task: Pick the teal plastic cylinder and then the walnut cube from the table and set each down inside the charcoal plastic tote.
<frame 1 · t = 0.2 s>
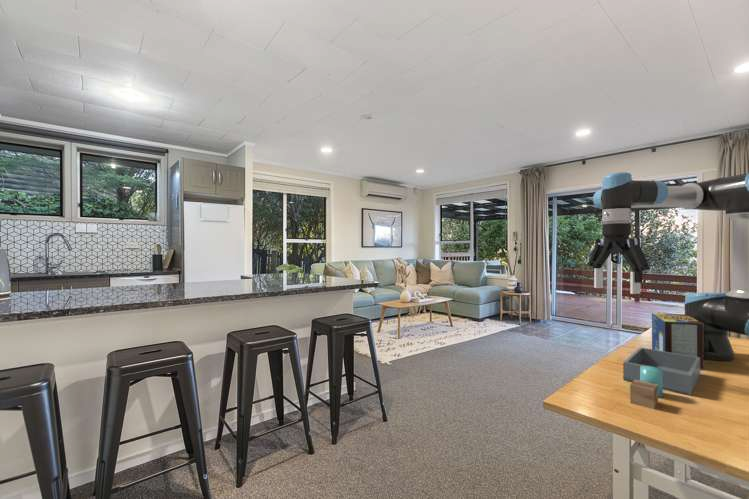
hand: (615, 290, 111), 27 cm above the table, fingers open, 13 cm apart
tote: (662, 377, 110), on the table
walnut cube: (644, 403, 93), on the table
teal cylinder: (651, 393, 99), on the table
protein box: (675, 361, 125), on the table
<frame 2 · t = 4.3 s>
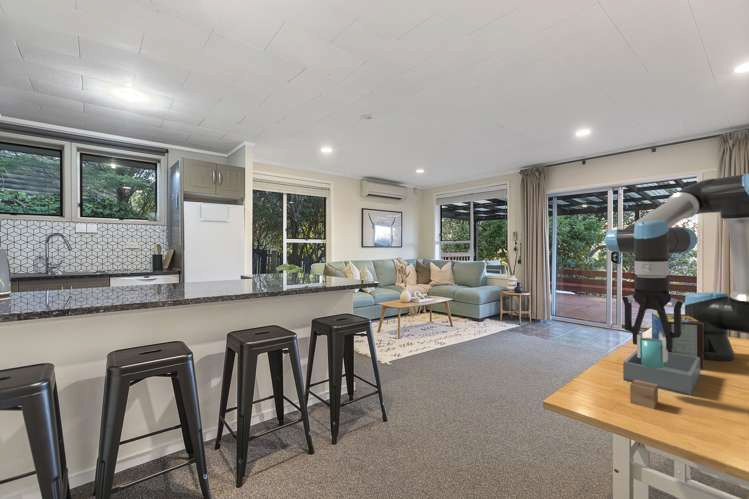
hand: (652, 358, 99), 10 cm above the table, fingers closed on teal cylinder, 5 cm apart
teal cylinder: (652, 365, 99), point 8 cm above the table, touching gripper
everything else where it was.
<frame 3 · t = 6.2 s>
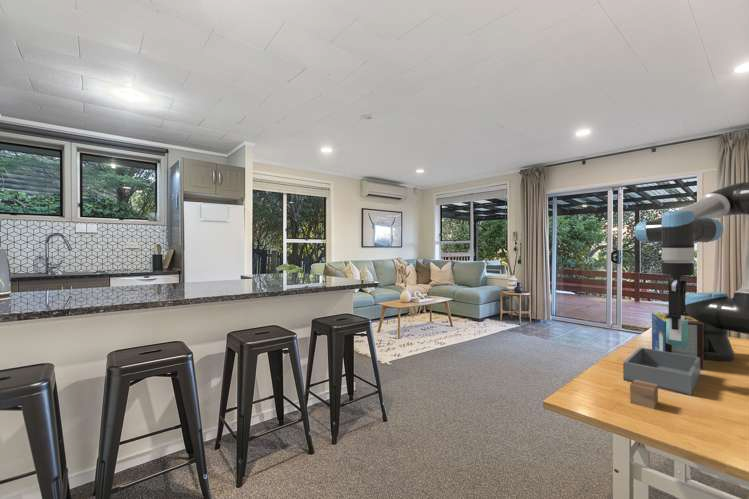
hand: (676, 338, 107), 13 cm above the table, fingers closed on teal cylinder, 5 cm apart
teal cylinder: (676, 343, 107), point 11 cm above the table, touching gripper
everything else where it was.
when the fingers open (1 cm above the table, at t = 8.5 s): teal cylinder stays where it is, resting on tote.
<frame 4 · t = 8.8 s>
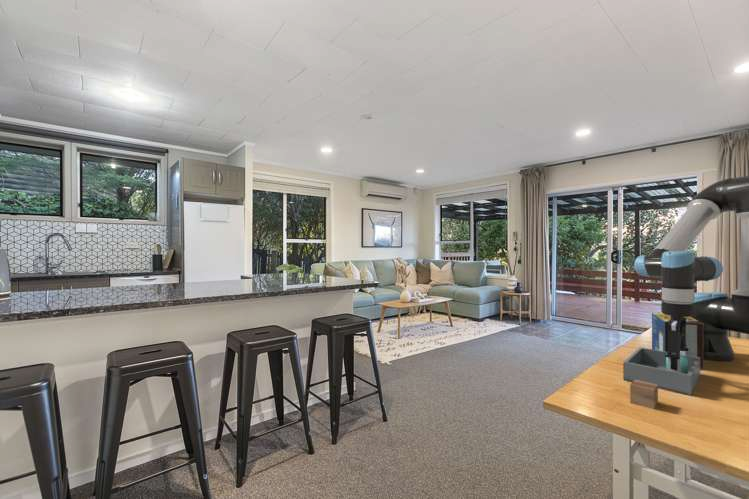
hand: (677, 375, 108), 2 cm above the table, fingers open, 9 cm apart
teal cylinder: (676, 378, 108), point 1 cm above the table, touching tote
everything else where it was.
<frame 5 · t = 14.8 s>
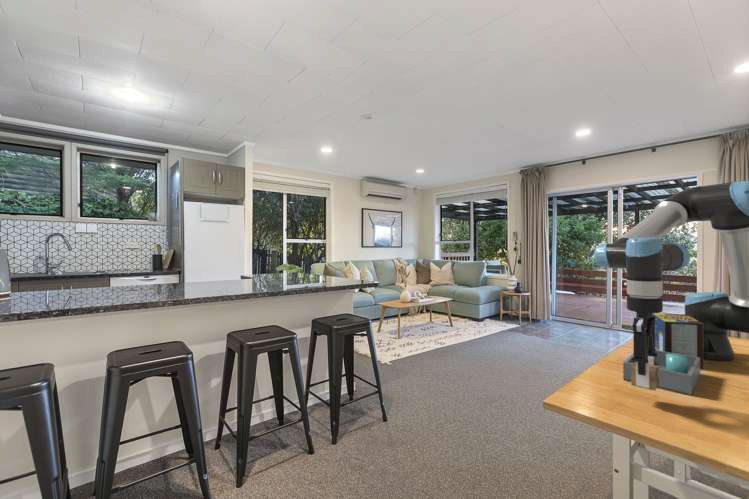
hand: (645, 382, 94), 5 cm above the table, fingers closed on walnut cube, 5 cm apart
walnut cube: (645, 384, 94), point 5 cm above the table, touching gripper
everything else where it was.
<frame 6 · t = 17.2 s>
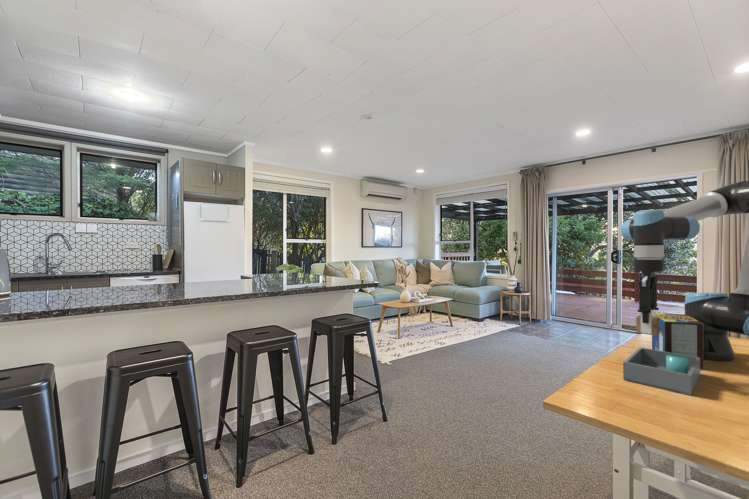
hand: (648, 331, 112), 14 cm above the table, fingers closed on walnut cube, 5 cm apart
walnut cube: (647, 332, 113), point 13 cm above the table, touching gripper
everything else where it was.
when the fingers open (1 cm above the table, at t = 19.6 s): walnut cube stays where it is, resting on tote.
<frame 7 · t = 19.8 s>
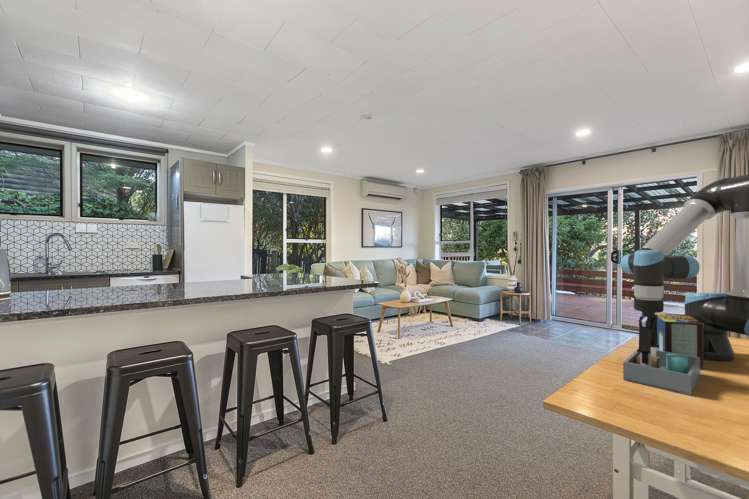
hand: (648, 369, 113), 1 cm above the table, fingers open, 7 cm apart
walnut cube: (648, 372, 113), point 1 cm above the table, touching tote
everything else where it was.
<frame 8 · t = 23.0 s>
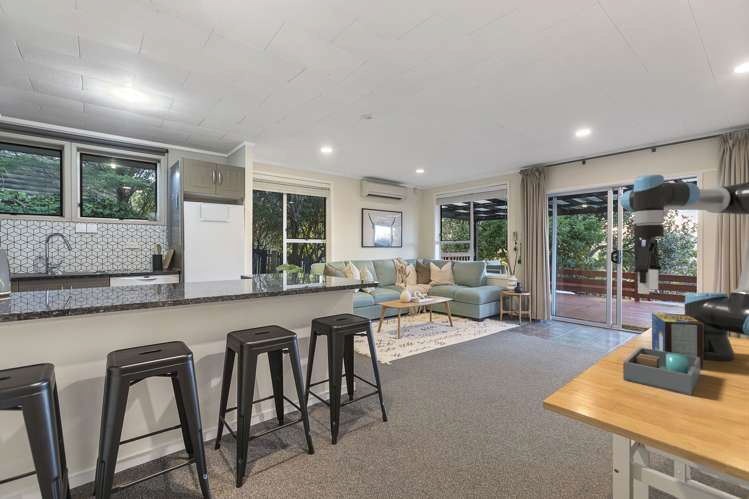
hand: (648, 291, 112), 27 cm above the table, fingers open, 13 cm apart
nothing on the table moved.
at the end: teal cylinder 3.5 cm from the tote (horizontally); walnut cube inside the target area on the tote (3.6 cm from its centre), point 0.6 cm above the tote's base; teal cylinder point 0.6 cm above the table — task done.
